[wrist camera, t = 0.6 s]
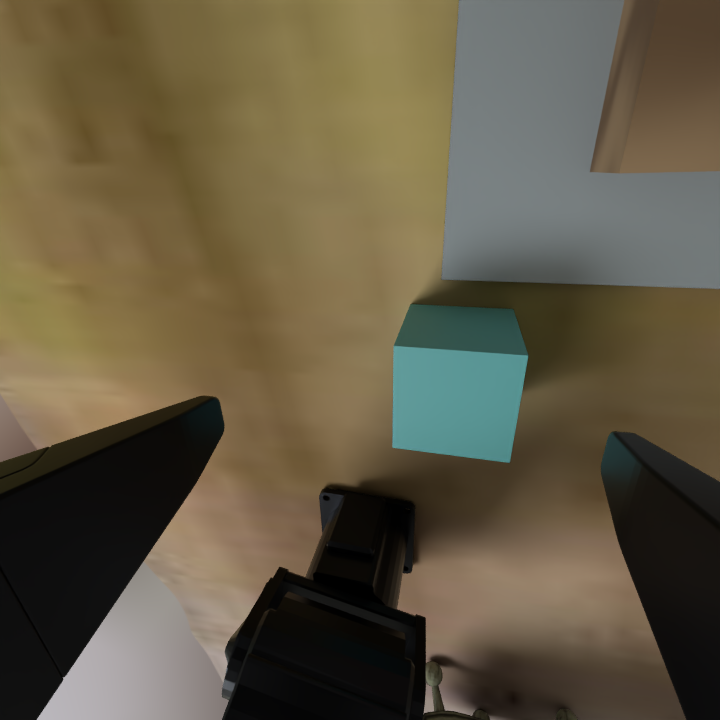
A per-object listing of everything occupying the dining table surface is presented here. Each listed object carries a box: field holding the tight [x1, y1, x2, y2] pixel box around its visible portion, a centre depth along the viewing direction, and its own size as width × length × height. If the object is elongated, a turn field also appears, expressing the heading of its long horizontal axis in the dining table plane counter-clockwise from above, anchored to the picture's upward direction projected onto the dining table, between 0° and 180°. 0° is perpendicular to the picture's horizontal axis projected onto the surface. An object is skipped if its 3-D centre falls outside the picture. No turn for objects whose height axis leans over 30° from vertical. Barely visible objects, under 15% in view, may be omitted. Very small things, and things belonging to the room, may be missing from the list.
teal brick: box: [393, 304, 528, 463], centre depth 19 cm, size 5×5×6 cm
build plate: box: [441, 0, 720, 289], centre depth 14 cm, size 14×16×1 cm
